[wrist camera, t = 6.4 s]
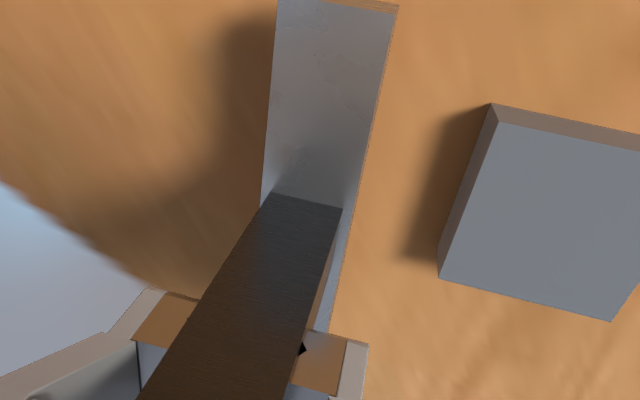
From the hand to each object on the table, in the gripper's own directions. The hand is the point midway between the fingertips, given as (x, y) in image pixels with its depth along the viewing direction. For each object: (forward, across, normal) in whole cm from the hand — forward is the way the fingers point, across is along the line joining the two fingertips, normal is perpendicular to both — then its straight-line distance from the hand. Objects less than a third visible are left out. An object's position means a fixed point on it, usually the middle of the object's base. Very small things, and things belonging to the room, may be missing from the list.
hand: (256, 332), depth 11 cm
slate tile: (+10, -9, 0) cm, 14 cm away
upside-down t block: (+7, 0, 0) cm, 7 cm away
